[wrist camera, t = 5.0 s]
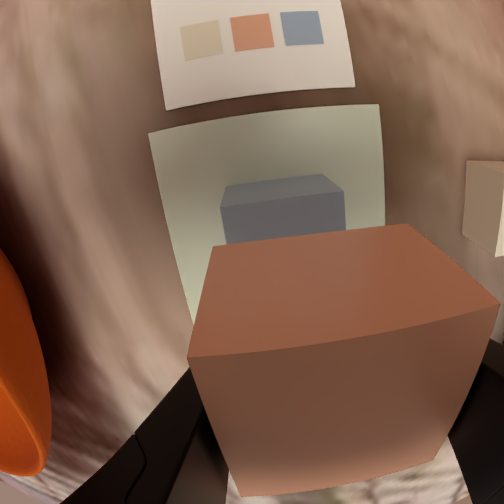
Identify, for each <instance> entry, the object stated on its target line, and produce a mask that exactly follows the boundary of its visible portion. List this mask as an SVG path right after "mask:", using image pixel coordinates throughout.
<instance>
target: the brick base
mask: <svg viewBox="0 0 504 504" xmlns="http://www.w3.org/2000/svg"><path fill="white" fill-rule="evenodd" d="M220 212H221V217H222V223H223V228H224V234H225V239H226V244H235V243H243V242H251V241H259V240H267V239H275V238H284V237H292V236H300V235H309V234H317V233H325V232H334V231H343V230H346V220H345V200H344V191H343V190H342V189H341V188H339V187H338V186H337V185H336V184H334V183H333V182H332V181H331V180H329V179H328V178H327V177H326V176H324V175H323V174H316V175H307V176H298V177H290V178H282V179H274V180H267V181H259V182H252V183H245V184H238V185H232V186H226V188H225V191H224V194H223V198H222V201H221V205H220Z"/></svg>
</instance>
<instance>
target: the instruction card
mask: <svg viewBox="0 0 504 504" xmlns="http://www.w3.org/2000/svg"><path fill="white" fill-rule="evenodd" d="M151 7H152V16H153V24H154V32H155V40H156V47H157V55H158V62H159V69H160V75H161V82H162V89H163V95H164V101H165V107H166V111H167V110H172V109H176V108H181V107H186V106H191V105H196V104H201V103H206V102H212V101H218V100H224V99H230V98H236V97H243V96H250V95H258V94H266V93H275V92H285V91H296V90H308V89H324V88H347V87H355V80H354V73H353V67H352V60H351V54H350V48H349V42H348V37H347V31H346V26H345V21H344V16H343V11H342V7H341V2H340V0H151Z"/></svg>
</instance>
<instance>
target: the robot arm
mask: <svg viewBox="0 0 504 504" xmlns="http://www.w3.org/2000/svg"><path fill="white" fill-rule="evenodd" d="M448 438H449V440H450V443H451V445H452V448H453V450H454V453H455V455H456V458H457V461H458V463H459V466H460V469H461V471H462V474H463V477H464V480H465V483H466V485H467V488H468V491H469V494H470V497H471V500H472V503H473V504H504V345H502V344H500V343H498V342H496V341H494V340H492V339H489V342H488V345H487V348H486V350H485V353H484V356H483V358H482V361H481V364H480V366H479V369H478V371H477V374H476V376H475V379H474V381H473V383H472V386H471V388H470V390H469V392H468V395H467V397H466V399H465V401H464V403H463V405H462V408H461V410H460V412H459V414H458V416H457V418H456V420H455V422H454V424H453V426H452V427H451V429H450V431H449V433H448ZM228 473H229V468H228V466H227V463H226V461H225V459H224V456H223V454H222V451H221V449H220V447H219V444H218V442H217V439H216V437H215V434H214V432H213V429H212V426H211V424H210V421H209V419H208V416H207V413H206V411H205V408H204V405H203V403H202V400H201V397H200V394H199V391H198V389H197V386H196V383H195V380H194V377H193V374H192V371H191V369H190V367H189V368H188V370H187V371H186V372H185V373H184V374H183V376H182V377H181V378H180V379H179V380H178V382H177V383H176V384H175V385H174V386H173V388H172V389H171V390H170V391H169V392H168V393H167V395H166V396H165V397H164V398H163V399H162V401H161V402H160V403H159V404H158V405H157V406H156V408H155V409H154V410H153V411H152V412H151V414H150V415H149V416H148V417H147V418H146V419H145V421H144V422H143V423H142V424H141V425H140V426H139V428H138V429H137V430H136V431H135V435H134V434H133V435H131V437H130V438H129V439H128V440H127V441H126V442H125V444H124V445H123V446H122V447H121V448H120V449H119V450H118V451H117V452H116V453H115V454H114V456H113V457H112V458H111V459H110V460H109V461H108V462H107V463H106V464H104V465H103V466H102V467H101V468H100V469H99V470H98V471H97V472H96V473H95V474H94V475H93V476H92V477H90V478H89V479H88V480H87V481H86V482H85V483H84V484H82V485H81V486H80V487H79V488H78V489H77V490H76V491H74V492H73V493H72V494H71V495H70V496H69V497H67V498H66V499H65V500H64V501H63V502H61V503H60V504H225V503H226V493H227V483H228Z"/></svg>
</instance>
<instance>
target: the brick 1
mask: <svg viewBox="0 0 504 504" xmlns="http://www.w3.org/2000/svg"><path fill="white" fill-rule="evenodd" d="M499 307H500V302H499V301H497V300H496V299H495V298H494V297H493V296H492V295H491V294H490V293H489V292H488V291H487V290H486V289H485V288H484V287H482V286H481V285H480V284H479V283H478V282H477V281H476V280H475V279H474V278H472V277H471V276H470V275H469V274H468V273H467V272H466V271H465V270H463V269H462V268H461V267H460V266H459V265H458V264H456V263H455V262H454V261H453V260H452V259H451V258H449V257H448V256H447V255H446V254H445V253H443V252H442V251H441V250H440V249H439V248H437V247H436V246H435V245H434V244H432V243H431V242H430V241H429V240H427V239H426V238H425V237H424V236H422V235H421V234H420V233H419V232H417V231H416V230H415V229H414V228H412V227H411V226H410V225H408V224H407V223H404V224H395V225H386V226H377V227H368V228H360V229H351V230H343V231H334V232H325V233H317V234H309V235H300V236H292V237H284V238H275V239H267V240H259V241H251V242H243V243H235V244H227V245H219V246H213V248H212V252H211V256H210V260H209V264H208V268H207V272H206V276H205V280H204V284H203V289H202V293H201V297H200V301H199V305H198V310H197V314H196V318H195V323H194V327H193V332H192V336H191V341H190V345H189V350H188V354H187V360H188V363H189V366H190V369H191V371H192V374H193V377H194V380H195V383H196V386H197V389H198V391H199V394H200V397H201V400H202V403H203V405H204V408H205V411H206V413H207V416H208V419H209V421H210V424H211V426H212V429H213V432H214V434H215V437H216V439H217V442H218V444H219V447H220V449H221V451H222V454H223V456H224V459H225V461H226V463H227V466H228V468H229V470H230V473H231V475H232V477H233V480H234V482H235V484H236V486H237V489H238V491H239V493H240V495H241V497H249V496H265V495H277V494H287V493H296V492H304V491H311V490H317V489H323V488H329V487H335V486H340V485H345V484H350V483H355V482H359V481H364V480H368V479H372V478H376V477H380V476H383V475H387V474H391V473H394V472H398V471H401V470H404V469H408V468H411V467H414V466H417V465H420V464H423V463H426V462H429V461H432V460H433V459H434V458H435V456H436V454H437V453H438V451H439V449H440V447H441V446H442V444H443V442H444V440H445V439H446V437H447V435H448V433H449V431H450V429H451V427H452V426H453V424H454V422H455V420H456V418H457V416H458V414H459V412H460V410H461V408H462V405H463V403H464V401H465V399H466V397H467V395H468V392H469V390H470V388H471V386H472V383H473V381H474V379H475V376H476V374H477V371H478V369H479V366H480V364H481V361H482V358H483V356H484V353H485V350H486V348H487V345H488V342H489V339H490V336H491V333H492V330H493V327H494V324H495V320H496V317H497V314H498V310H499Z"/></svg>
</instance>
